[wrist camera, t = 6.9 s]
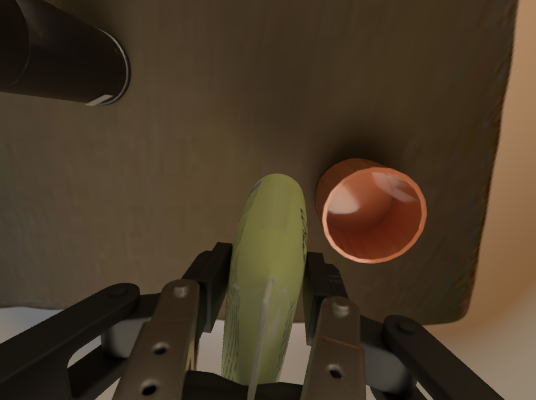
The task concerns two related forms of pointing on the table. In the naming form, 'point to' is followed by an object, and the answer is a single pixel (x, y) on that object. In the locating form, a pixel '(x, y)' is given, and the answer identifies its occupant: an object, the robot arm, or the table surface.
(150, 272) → the table surface
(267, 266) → the tube
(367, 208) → the pen cup
